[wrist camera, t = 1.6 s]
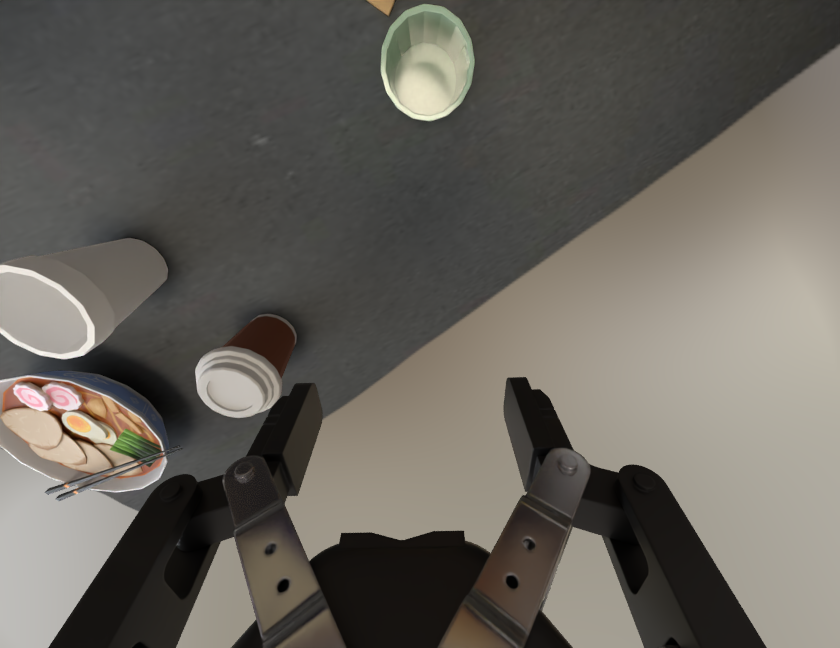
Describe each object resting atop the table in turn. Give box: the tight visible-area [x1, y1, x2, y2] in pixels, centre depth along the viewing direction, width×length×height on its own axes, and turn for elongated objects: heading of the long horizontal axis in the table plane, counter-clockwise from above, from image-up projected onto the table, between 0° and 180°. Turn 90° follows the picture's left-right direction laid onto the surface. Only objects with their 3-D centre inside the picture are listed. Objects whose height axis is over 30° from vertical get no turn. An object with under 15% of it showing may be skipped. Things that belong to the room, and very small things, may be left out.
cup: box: [381, 4, 475, 122], centre depth 28 cm, size 6×6×10 cm
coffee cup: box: [195, 314, 297, 418], centre depth 41 cm, size 9×9×12 cm
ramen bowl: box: [0, 370, 183, 501], centre depth 49 cm, size 25×23×8 cm
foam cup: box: [0, 238, 168, 359], centre depth 36 cm, size 10×9×13 cm
